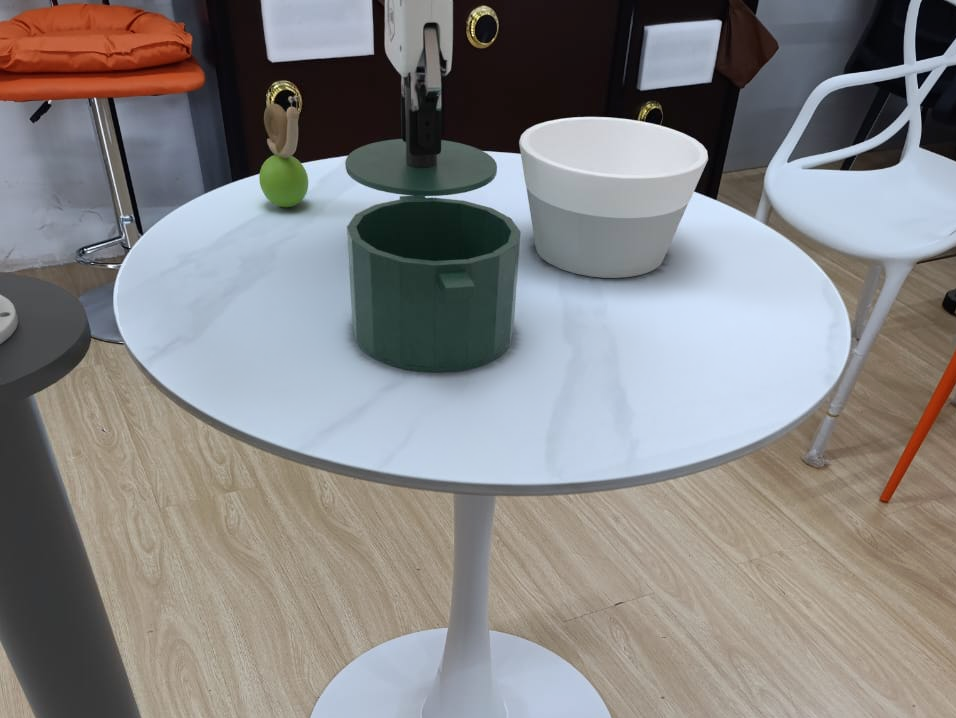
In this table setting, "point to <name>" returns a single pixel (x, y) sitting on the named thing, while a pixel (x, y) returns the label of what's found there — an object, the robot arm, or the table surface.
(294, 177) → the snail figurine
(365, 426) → the table surface
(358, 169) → the lid
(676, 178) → the bowl
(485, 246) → the pot
